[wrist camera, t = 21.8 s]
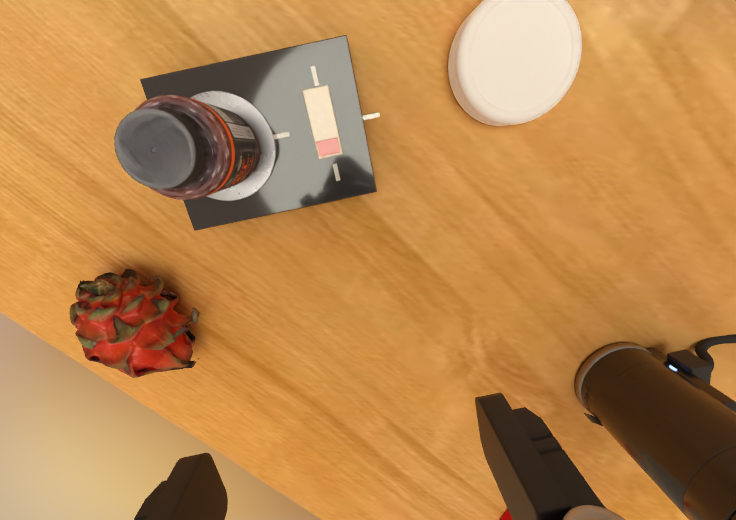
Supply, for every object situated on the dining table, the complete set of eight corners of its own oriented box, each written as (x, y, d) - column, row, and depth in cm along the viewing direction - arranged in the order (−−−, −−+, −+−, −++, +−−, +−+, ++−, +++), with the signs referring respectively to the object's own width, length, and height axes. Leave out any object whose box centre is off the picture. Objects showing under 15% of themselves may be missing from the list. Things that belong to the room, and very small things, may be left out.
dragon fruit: (118, 248, 36) (212, 323, 41) (38, 317, 32) (152, 390, 37) (121, 243, 29) (234, 334, 34) (20, 329, 26) (163, 417, 31)
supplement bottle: (232, 201, 31) (172, 232, 20) (169, 152, 29) (67, 157, 18) (276, 144, 29) (237, 144, 19) (212, 90, 28) (130, 57, 17)
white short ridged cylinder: (508, -33, 30) (529, -56, 26) (582, 60, 32) (610, 51, 29) (422, 69, 31) (431, 60, 28) (498, 149, 34) (515, 150, 31)
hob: (362, 41, 31) (364, 30, 28) (388, 184, 34) (393, 188, 31) (158, 85, 31) (138, 78, 28) (206, 223, 34) (193, 231, 31)
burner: (258, 80, 28) (258, 80, 28) (287, 188, 31) (287, 189, 31) (152, 103, 28) (150, 103, 28) (190, 209, 31) (188, 210, 31)
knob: (307, 97, 29) (301, 89, 24) (330, 93, 29) (327, 83, 24) (322, 157, 30) (318, 159, 26) (343, 152, 30) (343, 154, 26)
